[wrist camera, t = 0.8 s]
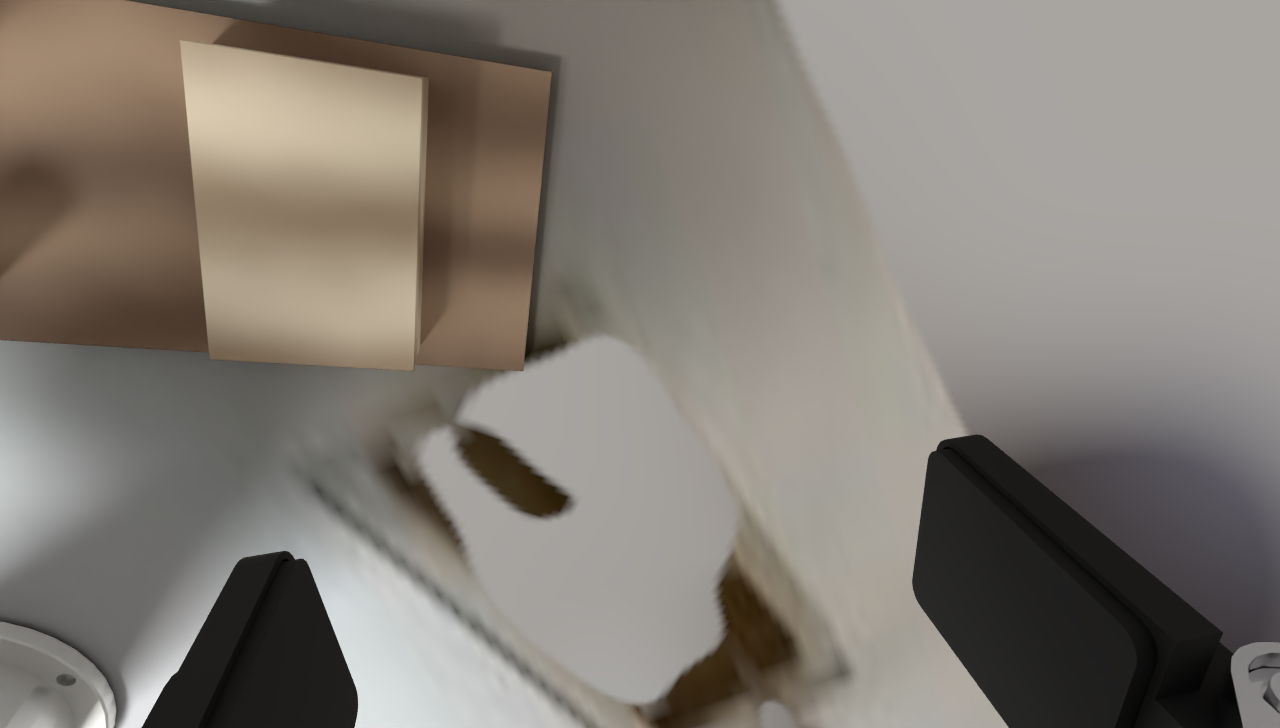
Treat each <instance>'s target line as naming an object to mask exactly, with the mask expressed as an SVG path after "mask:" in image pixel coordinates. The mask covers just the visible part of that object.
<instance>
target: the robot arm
mask: <svg viewBox="0 0 1280 728" xmlns="http://www.w3.org/2000/svg"><path fill="white" fill-rule="evenodd" d="M912 585H913V590H914V594H915V597H916V599H917V601H918V603H919V605H920V606H921V608H922V609H923V610H924V612H925V613H926V614H927V616H928V617H929V619H930V620H931V621H932V623H933V624H934V625H935V627H936V628H937V630H938V631H939V632H940V634H941V635H942V636H943V638H944V639H945V640H946V642H947V643H948V645H949V646H950V647H951V649H952V650H953V651H954V653H955V654H956V656H957V657H958V658H959V660H960V661H961V662H962V664H963V665H964V667H965V668H966V669H967V671H968V672H969V673H970V675H971V676H972V678H973V679H974V680H975V682H976V683H977V684H978V686H979V687H980V689H981V690H982V691H983V693H984V694H985V695H986V697H987V698H988V699H989V701H990V702H991V704H992V705H993V706H994V708H995V709H996V710H997V712H998V713H999V715H1000V716H1001V717H1002V719H1003V720H1004V721H1005V723H1006V724H1007V726H1008V727H1009V728H1280V643H1276V642H1268V643H1267V642H1263V643H1261V642H1259V643H1252V644H1249V645H1246V646H1243V647H1240V648H1239V649H1238V650H1237V651H1236V653H1235V654H1233V653H1232V652H1230V651H1229V650H1228V649H1227V648H1226V647H1224V646H1223V645H1222V644H1221V643H1220V642H1219V641H1220V638H1221V636H1222V634H1223V632H1222V631H1220V630H1219V629H1218V628H1217V627H1215V626H1214V625H1213V624H1212V623H1211V622H1209V621H1208V620H1207V619H1206V618H1205V617H1203V616H1202V615H1201V614H1200V613H1199V612H1197V611H1196V610H1195V609H1194V608H1192V607H1191V606H1190V605H1189V604H1188V603H1186V602H1185V601H1184V600H1183V599H1181V598H1180V597H1179V596H1178V595H1176V594H1175V593H1174V592H1173V591H1172V590H1170V589H1169V588H1168V587H1167V586H1166V585H1164V584H1163V583H1162V582H1161V581H1159V580H1158V579H1157V578H1156V577H1155V576H1154V575H1152V574H1151V573H1150V572H1148V571H1147V570H1146V569H1145V568H1144V567H1142V566H1141V565H1140V564H1139V563H1138V562H1137V561H1135V560H1134V559H1133V558H1131V557H1130V556H1129V555H1128V554H1127V553H1126V552H1124V551H1123V550H1122V549H1121V548H1119V547H1118V546H1117V545H1116V544H1115V543H1113V542H1112V541H1111V540H1110V539H1109V538H1107V537H1106V536H1105V535H1104V534H1102V533H1101V532H1100V531H1099V530H1097V529H1096V528H1095V527H1094V526H1093V525H1092V524H1090V523H1089V522H1088V521H1087V520H1085V519H1084V518H1083V517H1082V516H1081V515H1079V514H1078V513H1077V512H1076V511H1075V510H1073V509H1072V508H1071V507H1070V506H1069V505H1067V504H1066V503H1065V502H1064V501H1062V500H1061V499H1060V498H1059V497H1057V496H1056V495H1055V494H1054V493H1053V492H1051V491H1050V490H1049V489H1048V488H1047V487H1045V486H1044V485H1043V484H1042V483H1040V482H1039V481H1038V480H1037V479H1036V478H1035V477H1033V476H1032V475H1031V474H1030V473H1028V472H1027V471H1026V470H1025V469H1023V468H1022V467H1021V466H1020V465H1019V464H1017V463H1016V462H1015V461H1013V460H1012V459H1011V458H1010V457H1009V456H1008V455H1007V454H1005V453H1004V452H1003V451H1002V450H1000V449H999V448H998V447H997V446H995V445H994V444H993V443H992V442H991V441H990V440H988V439H987V438H985V437H984V436H982V435H970V436H964V437H959V438H953V439H947V440H943V441H941V442H940V443H939V445H938V447H937V450H936V451H934V452H931V454H930V455H929V458H928V464H927V472H926V479H925V487H924V495H923V502H922V510H921V518H920V525H919V533H918V541H917V548H916V556H915V564H914V571H913V579H912ZM357 712H358V696H357V691H356V687H355V684H354V682H353V679H352V677H351V674H350V671H349V669H348V666H347V664H346V661H345V658H344V656H343V653H342V651H341V648H340V646H339V643H338V640H337V638H336V635H335V633H334V630H333V627H332V625H331V622H330V620H329V617H328V614H327V612H326V609H325V607H324V604H323V602H322V599H321V596H320V594H319V591H318V589H317V586H316V583H315V581H314V578H313V576H312V573H311V570H310V568H309V566H308V564H307V562H306V561H305V560H304V559H297V560H295V559H294V557H293V556H292V554H290V553H289V552H288V551H281V552H275V553H269V554H263V555H257V556H251V557H246V558H243V559H241V560H239V562H238V563H237V564H236V566H235V567H234V569H233V571H232V573H231V575H230V577H229V578H228V580H227V582H226V584H225V586H224V588H223V589H222V591H221V593H220V595H219V597H218V599H217V601H216V602H215V604H214V606H213V608H212V610H211V612H210V613H209V615H208V617H207V619H206V621H205V623H204V624H203V626H202V628H201V630H200V632H199V634H198V636H197V637H196V639H195V641H194V643H193V645H192V647H191V648H190V650H189V652H188V654H187V656H186V658H185V660H184V661H183V663H182V665H181V667H180V669H179V671H178V672H177V673H176V674H174V675H173V676H172V677H171V678H170V680H169V681H168V683H167V684H166V685H165V687H164V688H163V690H162V692H161V694H160V696H159V697H158V699H157V701H156V703H155V705H154V706H153V708H152V710H151V712H150V714H149V715H148V717H147V719H146V721H145V723H144V725H143V726H142V728H354V726H355V722H356V718H357ZM115 718H116V705H115V699H114V694H113V692H112V690H111V688H110V686H109V684H108V682H107V680H106V678H105V677H104V676H103V675H102V674H101V672H100V671H99V670H98V669H97V668H96V667H95V665H94V664H93V663H92V662H90V661H89V660H88V659H87V658H85V657H84V656H83V655H82V654H81V653H79V652H78V651H77V650H75V649H74V648H72V647H70V646H68V645H67V644H65V643H63V642H61V641H59V640H58V639H56V638H54V637H51V636H49V635H46V634H43V633H41V632H38V631H36V630H33V629H30V628H26V627H22V626H18V625H14V624H10V623H6V622H0V728H114V725H115Z"/></svg>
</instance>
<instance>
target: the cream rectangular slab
mask: <svg viewBox="0 0 1280 728" xmlns="http://www.w3.org/2000/svg"><path fill="white" fill-rule="evenodd" d="M180 47H181V58H182V69H183V79H184V90H185V101H186V112H187V122H188V133H189V144H190V154H191V165H192V176H193V186H194V197H195V208H196V219H197V229H198V240H199V251H200V261H201V272H202V283H203V293H204V304H205V315H206V326H207V336H208V347H209V358H210V359H214V360H231V361H249V362H266V363H283V364H301V365H318V366H336V367H353V368H371V369H388V370H405V371H414V367H415V364H416V360H417V356H418V352H419V348H420V334H421V303H422V273H423V242H424V212H425V181H426V150H427V120H428V89H429V78H427V77H420V76H414V75H408V74H402V73H395V72H389V71H383V70H377V69H370V68H364V67H358V66H351V65H345V64H339V63H333V62H326V61H320V60H314V59H307V58H301V57H295V56H289V55H282V54H276V53H270V52H264V51H257V50H251V49H245V48H238V47H232V46H226V45H220V44H213V43H204V42H194V41H183V40H180Z"/></svg>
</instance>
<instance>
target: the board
mask: <svg viewBox="0 0 1280 728" xmlns="http://www.w3.org/2000/svg"><path fill="white" fill-rule="evenodd" d="M180 40H183V41H194V42H204V43H213V44H220V45H226V46H232V47H238V48H245V49H251V50H257V51H264V52H270V53H276V54H282V55H289V56H295V57H301V58H307V59H314V60H320V61H326V62H333V63H339V64H345V65H351V66H358V67H364V68H370V69H377V70H383V71H389V72H395V73H402V74H408V75H414V76H420V77H427V78H429V89H428V120H427V150H426V181H425V212H424V242H423V273H422V303H421V334H420V348H419V352H418V356H417V360H416V364H415V365H430V366H447V367H463V368H480V369H497V370H514V371H523V369H524V358H525V348H526V337H527V327H528V316H529V306H530V295H531V285H532V274H533V264H534V254H535V243H536V233H537V222H538V212H539V201H540V191H541V180H542V170H543V159H544V149H545V138H546V128H547V117H548V107H549V97H550V86H551V76H552V72H548V71H542V70H536V69H530V68H524V67H518V66H512V65H506V64H500V63H494V62H489V61H483V60H477V59H471V58H465V57H459V56H453V55H447V54H441V53H435V52H429V51H423V50H417V49H411V48H405V47H399V46H394V45H388V44H382V43H376V42H370V41H364V40H358V39H352V38H346V37H340V36H334V35H328V34H322V33H316V32H310V31H305V30H299V29H293V28H287V27H281V26H275V25H269V24H263V23H257V22H251V21H245V20H239V19H233V18H227V17H221V16H215V15H210V14H204V13H198V12H192V11H186V10H180V9H174V8H168V7H162V6H156V5H150V4H144V3H138V2H132V1H126V0H0V340H10V341H27V342H44V343H61V344H78V345H94V346H111V347H128V348H145V349H161V350H178V351H195V352H209V347H208V336H207V326H206V315H205V304H204V293H203V283H202V272H201V261H200V251H199V240H198V229H197V219H196V208H195V197H194V186H193V176H192V165H191V154H190V144H189V133H188V122H187V112H186V101H185V90H184V79H183V69H182V58H181V47H180Z"/></svg>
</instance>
